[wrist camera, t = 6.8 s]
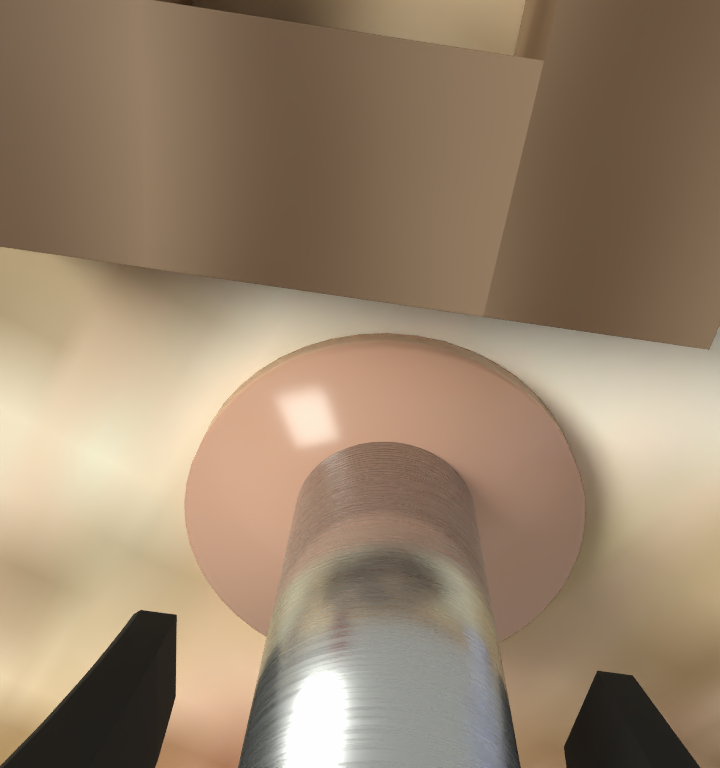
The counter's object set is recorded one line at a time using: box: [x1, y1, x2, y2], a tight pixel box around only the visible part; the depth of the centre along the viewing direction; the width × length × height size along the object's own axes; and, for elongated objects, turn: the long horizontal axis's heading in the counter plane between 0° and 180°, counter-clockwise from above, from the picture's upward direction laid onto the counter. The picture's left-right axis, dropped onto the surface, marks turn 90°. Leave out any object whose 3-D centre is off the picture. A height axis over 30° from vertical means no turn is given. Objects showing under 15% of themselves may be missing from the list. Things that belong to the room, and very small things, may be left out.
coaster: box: [185, 333, 586, 643], centre depth 15 cm, size 9×9×1 cm
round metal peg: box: [238, 442, 521, 768], centre depth 11 cm, size 4×4×7 cm
